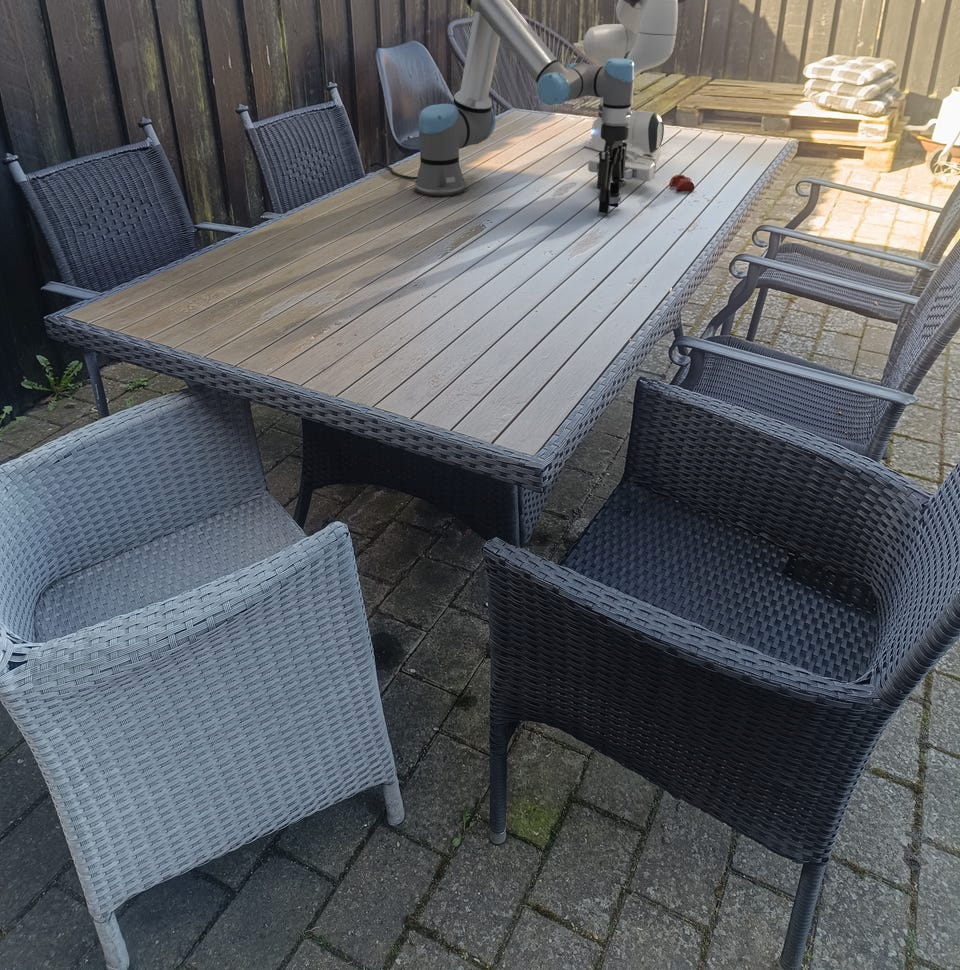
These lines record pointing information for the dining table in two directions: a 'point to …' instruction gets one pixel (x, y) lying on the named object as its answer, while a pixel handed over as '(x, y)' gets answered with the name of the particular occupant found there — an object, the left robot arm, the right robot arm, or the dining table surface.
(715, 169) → the dining table surface
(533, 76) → the left robot arm
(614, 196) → the lid
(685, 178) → the dental model
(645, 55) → the right robot arm
